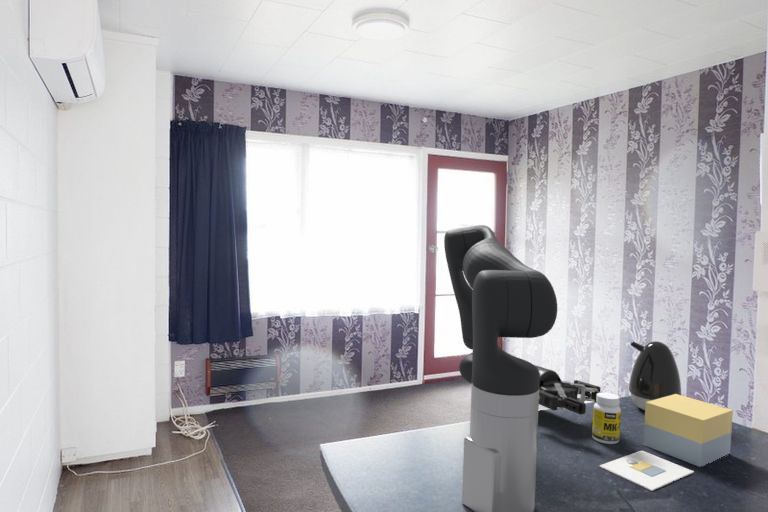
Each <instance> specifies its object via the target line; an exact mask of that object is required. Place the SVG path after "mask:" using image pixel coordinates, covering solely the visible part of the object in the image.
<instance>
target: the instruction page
mask: <svg viewBox="0 0 768 512" xmlns="http://www.w3.org/2000/svg"><path fill="white" fill-rule="evenodd" d="M599 468H601V469H604V470H605V471H607V472H610V473H612V474H614V475H616V476H618V477H620V478H623V479H625V480H626V481H627V480H628V481H629V482H631V483H633V484H635V485H638V486H640V487H642V488H645V489H646V490H649V491H651V492H653V491H655V490H657V489H660V488H662V487H664V486H667V485H669V484H671V483H674V482H676V481H678V480H681V479H683V478H686V477H687V476H689V475H692V474H694V473H695V471H694V470H691V469H689V468H686V467H684V466H682V465H679V464H676V463H673V462H671V461H669V460H667V459H664V458H662V457H659V456H657V455H654V454H652V453H649V452H647V451H644V450H639V451H636V452H633V453H630V454H628V455H624V456H622V457H620V458H619V457H618V458H617V459H614V460H611V461H607V462H605V463H603V464H600V465H599ZM680 478H681V479H680ZM673 481H674V482H673Z"/></svg>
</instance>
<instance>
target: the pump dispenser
mask: <svg viewBox="0 0 768 512" xmlns="http://www.w3.org/2000/svg"><path fill="white" fill-rule="evenodd" d="M630 346H631V347H633V348H634V349H636V350H638V351H639V354H638V356H637V358H636V359H635V362H634V364H633V367H632V370H631V374H630V379H629V384H628V392H629V393H630V397H631V400H632V402H633V403H634V405H636V406H637V407H638V408H639V409H641V410H642V411H645V407H646V402H648V401H652V400H655V399H659V398H663V397H666V396H670V395H673V394H678V395H682V387H681V386H682V385H681V384H682V383H681V376H680V372H679V368H678V365H677V362H676V359H675V357H674V355H673V353H672V351H671V349H670V347H669V346H668V345H667V344H665V343H663V342H661V341H651V342H648V343H647V344H645V345H642V344H640V343H638V342H635V341H631V343H630Z"/></svg>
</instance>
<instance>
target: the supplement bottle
mask: <svg viewBox="0 0 768 512" xmlns="http://www.w3.org/2000/svg"><path fill="white" fill-rule="evenodd" d="M600 392H601V393H597V396H596V402H597V403H596V402H594V404H593V410H592V411H593V412H592V413H593V415H592V429H591V437H592V438H593V440H595V442H599V443H601V444H606V445H615V444H616V445H617V444H618V443H619V442H620V433H621V422H622V421H621V420H622V419H621V418H622V409H621V407H620V403H621V402H620V396H619V395H617V394H614V393H611V392H603V391H600Z"/></svg>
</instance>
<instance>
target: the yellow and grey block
mask: <svg viewBox="0 0 768 512" xmlns="http://www.w3.org/2000/svg"><path fill="white" fill-rule="evenodd" d="M733 413H734V410H733V409H730V408H726V407H723V406H719V405H716V404H713V403H709V402H705V401H702V400H698V399H695V398H692V397H687V396H685V395H682V394H681V395H678V394H673V395H670V396H666V397H663V398H659V399H655V400H652V401H648V402H646V407H645V412H644V426H643V427H644V428H643V446H645V447H647V448H651V449H653V450H654V451H655V450H656V451H658V452H660V453H663V454H666V455H667V456H671V457H673V458H676V459H678V460H680V461H682V462H683V461H684V462H686V463H688V464H691V465H694V466H696V467H699V468H701V466H702V467H704V466H706V464H707V465H708V463H709V464H711V463H714V462H715V460H716V461H718V460H720V459H722V458H721V457H723V456H725V455H727V454H729V453H730V454H731V446H732V445H731V444H732V428H733V426H732V425H733ZM727 456H728V455H727ZM725 457H726V456H725ZM719 458H720V459H719ZM723 458H724V457H723ZM717 459H718V460H717ZM713 461H714V462H713Z"/></svg>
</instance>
